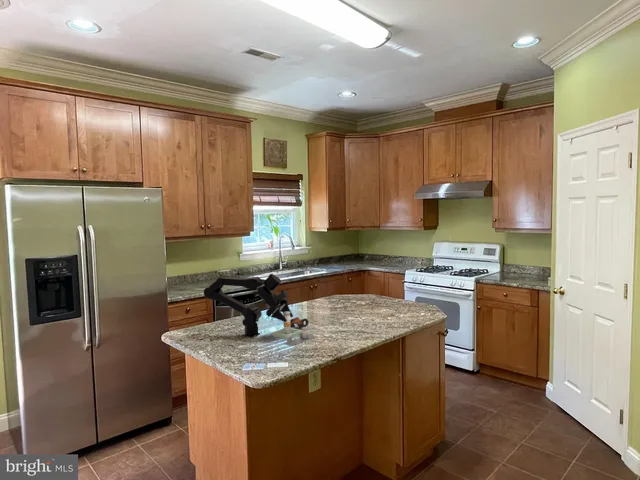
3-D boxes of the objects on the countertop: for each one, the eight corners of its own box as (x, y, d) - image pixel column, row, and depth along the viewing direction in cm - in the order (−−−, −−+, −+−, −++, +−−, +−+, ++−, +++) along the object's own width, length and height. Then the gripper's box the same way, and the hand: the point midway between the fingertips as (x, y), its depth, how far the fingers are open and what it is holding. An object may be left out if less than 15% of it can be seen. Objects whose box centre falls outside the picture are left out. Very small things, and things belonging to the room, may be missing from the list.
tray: (272, 338, 207) (272, 332, 207) (285, 332, 216) (285, 327, 215) (289, 341, 201) (289, 335, 201) (302, 335, 210) (302, 330, 209)
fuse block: (283, 345, 194) (282, 338, 194) (306, 336, 207) (306, 329, 207) (292, 348, 190) (292, 340, 190) (315, 338, 204) (315, 331, 203)
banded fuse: (283, 336, 207) (282, 312, 206) (285, 334, 210) (284, 311, 210) (289, 336, 206) (289, 313, 205) (291, 334, 210) (291, 311, 209)
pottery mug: (292, 335, 212) (286, 321, 214) (289, 339, 220) (282, 325, 222) (313, 326, 216) (306, 312, 218) (309, 330, 225) (302, 316, 227)
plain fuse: (300, 338, 202) (300, 328, 202) (305, 336, 205) (304, 326, 205) (306, 339, 200) (306, 329, 200) (310, 337, 203) (310, 327, 202)
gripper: (271, 289, 199) (293, 312, 196) (284, 282, 217) (305, 304, 214) (256, 304, 201) (278, 328, 199) (271, 297, 219) (291, 318, 217)
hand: (289, 319), depth 207 cm, fingers open, 9 cm apart
